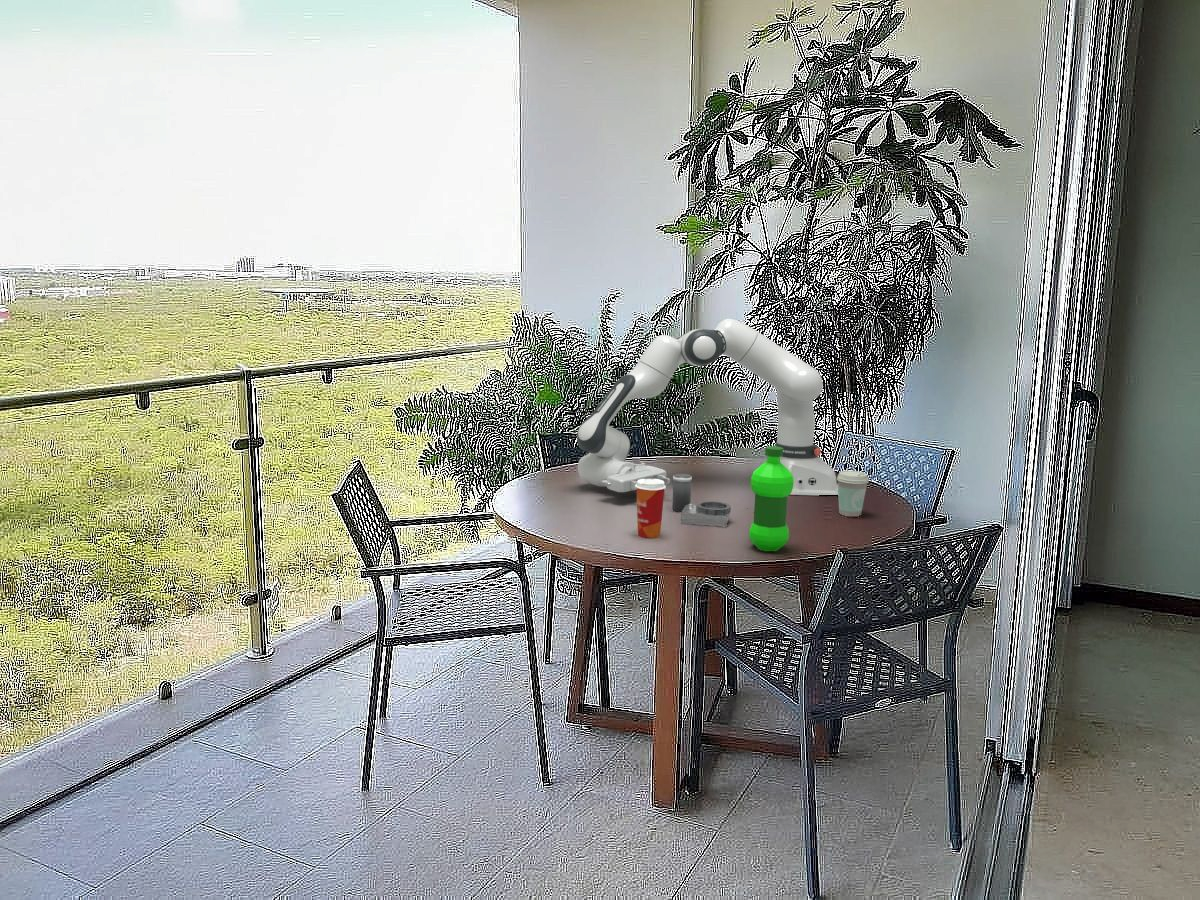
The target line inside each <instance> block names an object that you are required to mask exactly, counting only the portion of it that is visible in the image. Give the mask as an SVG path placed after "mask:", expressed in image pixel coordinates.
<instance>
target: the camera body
mask: <svg viewBox="0 0 1200 900" xmlns="http://www.w3.org/2000/svg"><path fill="white" fill-rule="evenodd" d="M731 508H732V505H731V504H729V503H727V502H722V501H715V500H714V501H713V500H706V501H700V502H697V503H696V504H694V503H692V502H690V503H689V504H688V505H687V504H686V506H685V507H684V509H683V510H682V512H681V513H680V524H681V523H683V525H693V524H695V525H694V526H704V525H710V526H709V527H716V526H725V527H724V528H727V526H726V525H728V524H729V521H730V519H729V518H730V516H731V512H732V511H731V510H732V509H731ZM728 520H729V521H728ZM727 523H728V524H727Z"/></svg>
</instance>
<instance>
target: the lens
mask: <svg viewBox="0 0 1200 900" xmlns="http://www.w3.org/2000/svg"><path fill="white" fill-rule="evenodd" d="M692 479H693V476H692V475H691V474H688V473H674V474H673V475H672V480H673V481H672V482H673V483H672V506H671V507H672V508H671V509H672V510H673V511H672V510H671V511H672V512H674V511H675V513H678V512H682V510H683V509H684V507H685V506H686V504H687V505H688V504H689V503H691V501H692V500H691V499H692V498H691V497H692V481H693V480H692Z"/></svg>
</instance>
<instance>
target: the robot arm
mask: <svg viewBox="0 0 1200 900" xmlns="http://www.w3.org/2000/svg"><path fill="white" fill-rule="evenodd" d="M722 355H725V356H726V357H728V358H730V359H732V360H733V361H734V362H736V363H738V364H739V365H740V366H742V367H744V368H745V369H747V370H748V371H749V372H751V373H753V374H754V375H755V376H757V377H758V378H759V379H760V378H761V379H762V380H763V381H765V382H766V383H768V384H769V385H770V386H772V387H774V388H775V389H776V401H777V416H778V417H777V420H778V421H777V433H776V434H777V435H776V437H777V438H776V442H775V445H774V446H776V447H782V448H783V456H782V457H780V462H781V463H782V464H783V465H784V466H785V467H786V468H787V469H788V470H789V471H790V472H791V473H792V475H793V478H794V484H793V489H792V493H790V494H789V495H793V496H794V495H798V496H819V495H838V482H837V476H836V475H837V474H836V472H835V470H834V469H833V467H831V466H830V465H829V464H827V463H826V462H825V461H824V459H822V458H821V457H820V455H822V449H820V447H819V446H818V445H815V444H814V440H815V439H814V438H815V426H816V423H815V422H816V419H815V418H816V417H815V411H814V403H813V402H814V400H815V399H817V398H819V396H820V395H821V393H822V391H823V387H824V386H823V385H824V383H823V378H822V376H821V373H819V371H818V370H817V369H816V368H815V367H813V366H811V365H809V363H806V361H804V360H802V359H800V358H799V357H797V356H796V355H794V354H793V353H791V352H790V351H788V350H786V349H785V348H783V347H782V346H780V345H779V344H777V343H775V342H774V341H772V340H771V339H769V338H768V337H766V336H765V335H763V334H762V333H760V332H759V331H757V330H755V329H754V328H753V327H751V326H749V325H747V324H746V323H743V322H741V321H739V320H737V319H734V318H725V319H723V320H721V321H720V322H719V323H718V324H717V325H716V327H715V328H714V329H706V328H696V329H692V330H690V331H687V332H685V333H684V334H682V335H680V336H679V337H677V338H675V337H673V336H670V335H666V334H661V335H660V334H659V335H658V336H656V337H655V338H654V339H653V340H652V341H651V343H650V344H649V345H648V347H647V348H646V349H645V350H644V352H643V353H642V355H641V356H640V358H639V360H638V361H637V363H636V364H635V365H634V367H633V368H632V370H630V371H629V372H628V373H627V374H625V375H622V376H621V377H620V378H619V379H617V380H616V382H615V383H614V385H613V386H612V387H611V388H610V389H609V391H608V392H607V393H606V395H605V396H604V397H603V399H602V400H601V401H600V402H599V404H598V405H597V407H596V408H595V409H594V411H593V412H591V414H590V415H589V416H588V417H587V418H586V419H585V420H584V421H582V423H581V424H580V425H579V427H578V429H577V432H576V441H577V446H578V447H579V448H580V450H581V451H584V452H587V454H586V455H584V456H582V457H581V458H580V459H579V460H578V463H577V472H578V475H579V476H580V478H581V479H582V480H583V481H584V482H586V483H588V484H591V485H594V486H596V487H600V488H601V487H602V488H605V487H606V488H607V489H608V490H610V491H614V492H618V493H626V492H630V491H635V490H636V491H637V488H636V487H635V485H636V484H637V481H638V480H640V479H659V480H662V481H664V484H665V486H667V485H670V483H671V479H670V478H669V477H667V471H666V470H665V469H662V468H659V467H657V466H652V465H646V463H645V462H642V461H639V462H638V461H637V462H635V461H634V462H630V461H627V460H626V459H627V458H628V456H629V453H630V450H631V440H630V437H629V436H628V435H627V434H626V433H624V432H622V431H621V430H619V429H617V428H614V427H612V426H610V423H611V422H612V421H613V420H614V418H615V416H616V415H617V414H618V413H619V411H620V410H621V409H622V408H623V406H624V405H625V404H626V403H627V402H629V401H631V400H634V399H651V398H655V397H658V396H659V395H660V394H662V392H664V390H666V387H667V386H668V385H669V382H670V381H671V379H672V377H673V375H674V373H675V371H676V370H677V369H678V368H679V367H680V366H681V365H682V364H687V365H690V366H695V367H703V366H707V365H710V364H712V363H713V362H715V361H716V360H717V359H718V358H719V357H720V356H722Z"/></svg>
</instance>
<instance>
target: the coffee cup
mask: <svg viewBox="0 0 1200 900" xmlns="http://www.w3.org/2000/svg"><path fill="white" fill-rule="evenodd" d="M836 481H837V484H838V514H839V513H840V514H842V515H845V516H859V515H861V516H862V513H863V512H862V511H863V506H864V501H865V496H866V491H867V485H868V483H869V482H870V481H869V477H868V473H866V472H863V471H858V470H842V471H841V470H840V471H839V473H838V475H837V476H836Z"/></svg>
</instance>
